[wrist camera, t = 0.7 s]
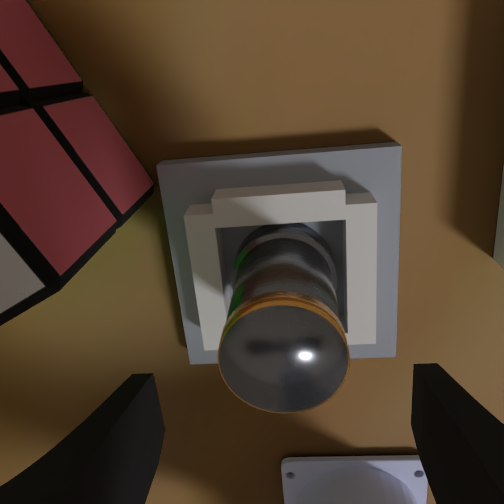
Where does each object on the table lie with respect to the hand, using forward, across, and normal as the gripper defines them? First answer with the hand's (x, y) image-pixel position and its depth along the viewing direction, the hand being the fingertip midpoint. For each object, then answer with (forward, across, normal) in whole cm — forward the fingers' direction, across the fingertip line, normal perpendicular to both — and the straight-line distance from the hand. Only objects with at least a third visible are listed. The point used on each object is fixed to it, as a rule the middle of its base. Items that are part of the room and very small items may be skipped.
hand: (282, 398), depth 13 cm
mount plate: (+10, 0, 0) cm, 10 cm away
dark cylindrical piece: (+9, 0, 0) cm, 9 cm away
